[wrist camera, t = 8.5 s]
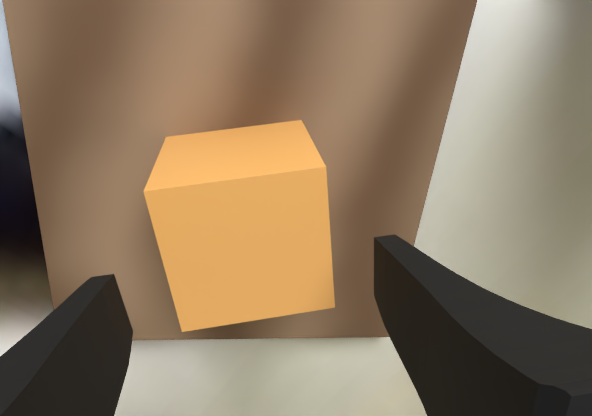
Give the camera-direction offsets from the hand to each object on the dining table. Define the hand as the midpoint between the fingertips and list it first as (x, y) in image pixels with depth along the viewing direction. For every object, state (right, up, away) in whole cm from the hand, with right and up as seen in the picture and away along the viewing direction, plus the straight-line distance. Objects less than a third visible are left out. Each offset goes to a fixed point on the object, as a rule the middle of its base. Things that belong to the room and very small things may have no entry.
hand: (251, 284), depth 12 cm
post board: (-1, +3, +7) cm, 8 cm away
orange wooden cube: (-1, +3, +6) cm, 7 cm away
